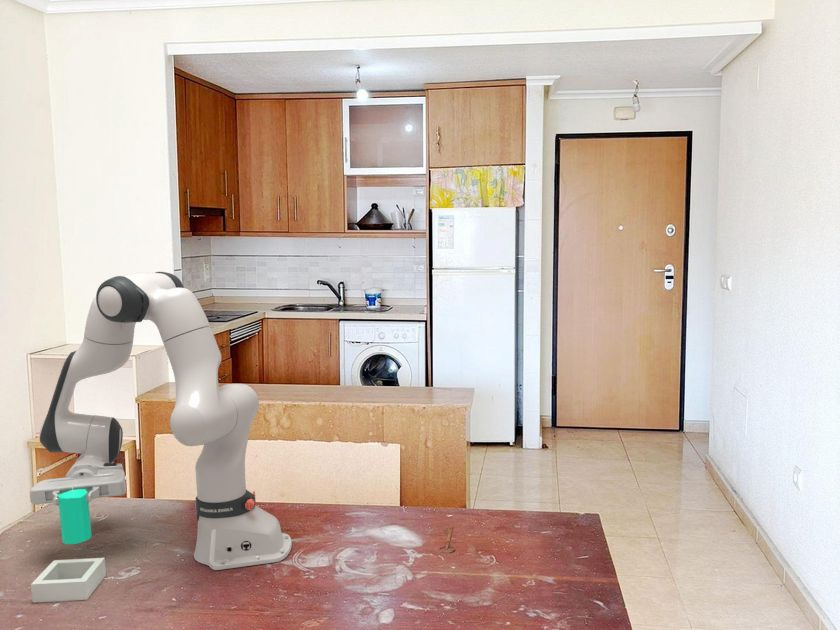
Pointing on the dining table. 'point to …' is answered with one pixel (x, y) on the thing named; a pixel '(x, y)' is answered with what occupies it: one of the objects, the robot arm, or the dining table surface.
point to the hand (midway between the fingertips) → (72, 500)
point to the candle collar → (68, 580)
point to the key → (447, 539)
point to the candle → (74, 516)
